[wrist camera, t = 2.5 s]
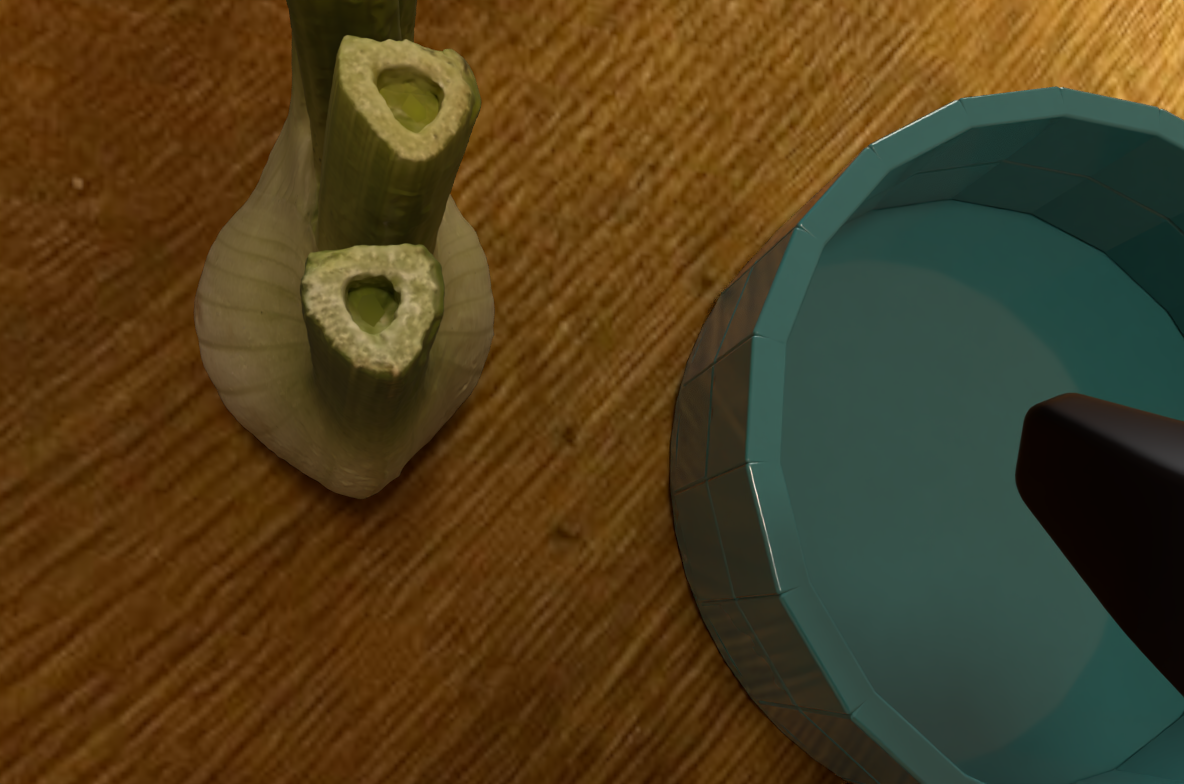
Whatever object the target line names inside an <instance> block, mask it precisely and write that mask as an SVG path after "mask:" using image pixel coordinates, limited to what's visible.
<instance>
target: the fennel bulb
mask: <svg viewBox="0 0 1184 784" xmlns="http://www.w3.org/2000/svg"><path fill="white" fill-rule="evenodd" d="M286 1H287V5H288V7H289V14H290V21H291V28H292V96H291V102H290V108H289V115H288V117H287V119H286V122H285V124H284V126H283V129H282V131H281V134H280V136H279V137H278V139H277V141H276V143H275V145H274V147H273V149H272V151H271V153H270V156H269V159H268V162H267V164H266V166H265V168H264V170H263V172H262V175H261V178H260V180H259V182H258V184H257V186H256V188H255V190H254V191H253V192H252V194H251V196H250V197H249V199H248V200H247V202H246V203H245V204H244V205H243V206H242V207H241V208H240V209H239V210H238V211H237V212H236V213H235V215H234V216H233V217H232V218H231V219H230V220H229V221H228V222H227V224H226V225H225V226H224V227H223V228H222V230H221V231H220V232H219V234H218V236H217V238H216V240H215V242H214V243H213V245H212V246H211V249H210V251H209V253H208V256H207V259H206V262H205V265H204V269H203V272H202V275H201V278H200V281H199V285H198V289H197V293H196V296H195V306H194V320H195V328H196V332H197V335H198V338H199V347H200V353H201V358H202V361H203V364H204V367H205V369H206V371H207V373H208V375H209V377H210V379H211V381H212V382H213V384H214V386H215V387H216V389H217V390H218V393H219V396H220V398H221V400H222V401H223V403H224V405H225V406H226V408H227V409H228V411H230V412H231V413H232V415H233V416H234V417H235V418H236V420H237V421H238V422H239V423H240V424H241V425H242V426H243V427H244V428H246V429H247V430H248V431H249V432H251V433H252V434H253V435H254V436H255V437H256V438H257V439H258V440H259V441H261V442H262V443H263V444H264V445H265V446H266V447H267V448H268V449H270V450H272V451H273V452H274V453H275V454H276V455H277V456H278V457H279V458H281V459H284V460H285V461H287V462H288V463H289V464H290V465H292V466H293V467H295V468H297V469H298V470H300V471H301V472H302V473H304V474H306V475H307V476H309V477H310V478H313V479H315V480H316V481H318V482H319V483H321V484H322V485H323V486H324V487H326V488H327V489H329V490H331V491H333V492H335V493H338V494H341V495H346V496H348V497H353V498H357V499H365V498H367V497H370V496H372V495H374V494H377V493H378V492H379V491H380V490H382V489H383V488H384V487H385V486H386V485H387V484H388V483H389V482H391V481H392V480H394V479H396V478H397V477H399V476H400V473H401V471H402V468H403V467H404V466H405V464H406V463H407V462H408V461H409V460H410V459H411V458H412V457H413V456H414V455H415V454H416V453H417V452H418V451H419V450H420V449H421V448H422V447H423V446H424V445H426V444H427V443H428V442H429V441H430V440H431V439H432V438H433V437H434V435H435V434H436V433H437V432H438V431H439V430H440V428H441V427H442V426H443V425H444V424H445V423H446V422H447V421H448V420H449V419H450V418H451V417H452V415H453V414H454V413H455V412H456V410H457V409H458V407H460V406H461V404H462V403H463V402H464V401H465V400H466V399H467V397H469V396H470V394H471V393H472V391H473V389H474V387H475V386H476V384H477V383H478V379H479V378H480V375H481V373H482V370H483V367H484V363H485V361H486V359H487V355H488V352H489V350H490V345H491V341H492V338H493V336H494V331H493V324H494V300H493V295H492V291H491V282H490V274H489V267H488V264H487V259H486V256H485V254H484V251H483V249H482V247H481V245H480V243H479V240H478V237H477V234H476V232H475V230H474V229H473V228H472V226H471V225H470V224H469V223H468V222H467V221H466V220H465V219H464V217H463V216H462V215H461V213H460V211H459V209H458V208H457V206H456V204H455V202H454V200H453V198H452V196H451V195H450V192H451V189H452V186H453V183H454V180H455V177H456V173H457V171H458V168H459V166H460V163H461V161H462V158H463V155H464V153H465V149H466V147H467V144H468V142H469V137H470V135H471V132H472V129H473V126H474V124H475V121H476V118H477V117H478V114H479V111H480V108H481V98H480V94H479V90H478V87H477V83H476V80H475V77H474V74H473V72H472V70H471V68H470V66H469V65H468V63H467V62H466V60H465V59H464V58H463V57H462V56H460V55H459V54H458V53H457V52H455V51H454V50H452V49H445V50H443V51H436V50H431V49H429V48H425V47H422V46H420V45H418V44H416V43H413V42H414V26H415V16H416V4H417V0H286Z"/></svg>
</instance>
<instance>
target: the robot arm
mask: <svg viewBox="0 0 1184 784" xmlns="http://www.w3.org/2000/svg"><path fill="white" fill-rule="evenodd" d="M1015 482H1016V486H1017V489H1018V492H1019V494H1020V496H1021V498H1022V500H1023V502H1024V503H1025V505H1026V506H1027V507H1028V509H1029V510H1030V511H1031V512H1032V514H1033V515H1034V516H1035V518H1036V519H1037V520H1038V522H1039V523H1040V524H1041V526H1042V527H1043V528H1044V529H1045V531H1046V532H1047V533H1048V535H1049V536H1050V537H1051V539H1052V540H1053V541H1054V543H1055V544H1056V545H1057V547H1058V548H1059V549H1060V550H1061V552H1062V553H1063V554H1064V556H1065V557H1066V558H1067V560H1068V561H1069V562H1070V564H1071V565H1072V566H1073V567H1074V569H1075V570H1076V571H1077V573H1078V574H1079V575H1080V577H1081V578H1082V579H1083V581H1084V582H1085V583H1086V584H1087V586H1088V587H1089V588H1090V590H1091V591H1092V592H1093V594H1094V595H1095V596H1096V598H1097V599H1098V600H1099V601H1100V603H1101V604H1102V605H1103V607H1104V608H1105V609H1106V611H1107V612H1108V613H1109V614H1110V616H1111V617H1112V618H1113V619H1114V621H1115V622H1116V623H1117V624H1118V625H1119V627H1120V628H1121V629H1122V630H1123V632H1124V633H1125V634H1126V635H1127V636H1128V637H1129V638H1130V640H1131V641H1132V642H1133V643H1134V644H1135V645H1136V646H1137V647H1138V649H1139V650H1140V651H1141V652H1142V653H1143V654H1144V655H1145V656H1146V657H1147V658H1148V659H1149V661H1150V662H1151V663H1152V664H1153V665H1154V666H1155V667H1156V668H1157V669H1158V670H1159V671H1160V672H1161V673H1162V675H1163V676H1164V677H1165V678H1166V679H1167V680H1168V681H1169V682H1170V683H1171V684H1172V685H1173V686H1174V687H1175V688H1176V690H1177V691H1178V692H1179V693H1180V694H1181V695H1182V696H1183V697H1184V421H1180V420H1176V419H1173V418H1169V417H1165V416H1161V415H1158V414H1154V413H1150V412H1146V411H1143V410H1139V409H1135V408H1131V407H1128V406H1124V405H1120V404H1117V403H1113V402H1109V401H1105V400H1102V399H1098V398H1094V397H1090V396H1087V395H1083V394H1079V393H1064V394H1061V395H1058V396H1055V397H1053V398H1050V399H1048V400H1045V401H1043V402H1040V403H1038V404H1035V405H1034V406H1032V407H1031V408H1030V409H1029V410H1028V412H1027V413H1026V415H1025V418H1024V421H1023V427H1022V433H1021V439H1020V445H1019V451H1018V457H1017V463H1016V469H1015Z"/></svg>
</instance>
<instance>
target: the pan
mask: <svg viewBox="0 0 1184 784" xmlns="http://www.w3.org/2000/svg"><path fill="white" fill-rule="evenodd" d="M1064 393H1079V394H1083V395H1087V396H1090V397H1094V398H1098V399H1102V400H1105V401H1109V402H1113V403H1117V404H1120V405H1124V406H1128V407H1131V408H1135V409H1139V410H1143V411H1146V412H1150V413H1154V414H1158V415H1161V416H1165V417H1169V418H1173V419H1176V420H1180V421H1184V120H1183V119H1181V118H1179V117H1177V116H1175V115H1174V114H1172V113H1170V112H1168V111H1166V110H1164V109H1159V108H1158V107H1155V106H1151V105H1146V104H1141V103H1136V102H1131V101H1127V100H1122V99H1117V98H1112V97H1107V96H1103V95H1098V94H1093V93H1088V92H1083V91H1078V90H1074V89H1069V88H1064V87H1061V88H1059V87H1049V88H1041V89H1032V90H1024V91H1016V92H1007V93H999V94H991V95H983V96H974V97H966V98H960V99H959V100H954V101H952V102H950V103H948V104H946V105H945V106H943V107H941V108H939V109H937V110H935V111H933V112H931V113H929V114H927V115H925V116H923V117H921V118H919V119H917V120H915V121H914V122H912V123H910V124H908V125H906V126H904V127H902V128H900V129H898V130H896V131H894V132H892V133H890V134H888V135H886V136H884V137H882V138H881V139H879V140H877V141H875V142H873V143H871V144H869V145H868V146H867V147H866V148H864V149H863V150H862V151H861V152H860V153H859V154H858V155H857V156H856V157H855V158H853V159H852V160H851V161H850V162H849V163H848V164H847V165H846V166H845V167H844V168H843V169H842V170H841V171H840V172H839V173H838V174H837V175H835V176H834V177H833V178H832V179H831V180H830V181H829V182H828V183H827V184H826V185H825V186H824V187H823V188H822V189H821V190H820V191H819V192H818V193H816V194H815V195H814V196H813V197H812V198H811V199H810V200H809V201H808V202H807V203H806V204H805V205H804V206H803V207H801V208H800V209H799V210H798V211H797V212H796V213H795V214H794V215H793V216H792V217H791V218H790V219H789V220H788V221H787V222H786V223H785V224H783V225H782V226H781V227H780V228H779V229H778V231H777V232H776V233H775V234H774V235H773V236H772V237H771V238H770V239H769V241H768V242H767V243H766V244H765V245H764V246H763V247H762V248H761V249H760V251H759V252H758V253H757V254H756V255H755V256H754V257H753V258H752V259H751V260H750V261H749V262H748V263H747V264H746V265H745V266H744V267H743V269H742V270H741V271H740V272H739V274H738V275H737V276H736V277H735V278H734V279H733V281H732V282H731V283H730V284H729V285H728V286H727V287H726V288H725V289H724V291H723V292H722V294H721V296H720V297H719V298H718V301H717V303H716V305H715V307H714V308H713V310H712V312H711V313H710V315H709V317H708V318H707V320H706V321H705V323H704V325H703V327H702V329H701V332H700V334H699V336H698V339H697V341H696V343H695V346H694V348H693V350H692V353H691V355H690V357H689V360H688V362H687V366H686V369H685V373H684V377H683V380H682V384H681V387H680V391H679V395H678V398H677V402H676V409H675V416H674V423H673V431H672V438H671V460H670V490H671V498H672V507H673V515H674V524H675V532H676V536H677V540H678V544H679V549H680V553H681V557H682V561H683V565H684V569H685V573H686V577H687V579H688V582H689V585H690V587H691V590H692V592H693V595H694V598H695V600H696V603H697V606H698V608H699V611H700V613H701V616H702V619H703V621H704V623H705V624H706V626H707V628H708V630H709V632H710V634H711V636H712V638H713V640H714V641H715V643H716V645H717V647H718V649H719V651H720V653H721V655H722V657H723V658H724V660H725V662H726V663H727V665H728V666H729V667H730V669H731V670H732V672H733V673H734V675H735V676H736V677H737V679H738V680H739V682H740V683H741V685H742V686H743V687H744V689H745V690H746V692H747V693H748V694H749V696H750V697H751V699H752V700H753V701H754V702H755V703H756V704H757V705H758V706H759V707H760V708H761V710H762V711H763V712H764V713H765V714H766V715H767V716H768V717H769V718H770V719H771V721H772V722H773V723H774V724H775V725H776V726H777V727H778V728H779V729H780V730H781V732H783V733H784V734H785V735H786V736H787V737H789V738H790V739H791V740H792V741H793V742H794V743H796V744H797V745H798V746H799V747H800V748H801V749H803V750H804V751H805V752H806V753H807V754H809V755H810V756H811V757H812V758H813V759H814V760H816V761H817V762H819V763H820V764H822V765H823V766H825V767H826V768H828V769H830V770H831V771H833V772H834V773H835V774H836V775H837V776H840V777H841V778H842V779H843V780H845V781H847V782H849V783H851V784H1184V697H1183V696H1182V695H1181V694H1180V693H1179V692H1178V691H1177V690H1176V688H1175V687H1174V686H1173V685H1172V684H1171V683H1170V682H1169V681H1168V680H1167V679H1166V678H1165V677H1164V676H1163V675H1162V673H1161V672H1160V671H1159V670H1158V669H1157V668H1156V667H1155V666H1154V665H1153V664H1152V663H1151V662H1150V661H1149V659H1148V658H1147V657H1146V656H1145V655H1144V654H1143V653H1142V652H1141V651H1140V650H1139V649H1138V647H1137V646H1136V645H1135V644H1134V643H1133V642H1132V641H1131V640H1130V638H1129V637H1128V636H1127V635H1126V634H1125V633H1124V632H1123V630H1122V629H1121V628H1120V627H1119V625H1118V624H1117V623H1116V622H1115V621H1114V619H1113V618H1112V617H1111V616H1110V614H1109V613H1108V612H1107V611H1106V609H1105V608H1104V607H1103V605H1102V604H1101V603H1100V601H1099V600H1098V599H1097V598H1096V596H1095V595H1094V594H1093V592H1092V591H1091V590H1090V588H1089V587H1088V586H1087V584H1086V583H1085V582H1084V581H1083V579H1082V578H1081V577H1080V575H1079V574H1078V573H1077V571H1076V570H1075V569H1074V567H1073V566H1072V565H1071V564H1070V562H1069V561H1068V560H1067V558H1066V557H1065V556H1064V554H1063V553H1062V552H1061V550H1060V549H1059V548H1058V547H1057V545H1056V544H1055V543H1054V541H1053V540H1052V539H1051V537H1050V536H1049V535H1048V533H1047V532H1046V531H1045V529H1044V528H1043V527H1042V526H1041V524H1040V523H1039V522H1038V520H1037V519H1036V518H1035V516H1034V515H1033V514H1032V512H1031V511H1030V510H1029V509H1028V507H1027V506H1026V505H1025V503H1024V502H1023V500H1022V498H1021V496H1020V494H1019V492H1018V489H1017V486H1016V482H1015V469H1016V463H1017V457H1018V451H1019V445H1020V439H1021V433H1022V427H1023V421H1024V418H1025V415H1026V413H1027V412H1028V410H1029V409H1030V408H1031V407H1032V406H1034V405H1035V404H1038V403H1040V402H1043V401H1045V400H1048V399H1050V398H1053V397H1055V396H1058V395H1061V394H1064Z"/></svg>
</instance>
